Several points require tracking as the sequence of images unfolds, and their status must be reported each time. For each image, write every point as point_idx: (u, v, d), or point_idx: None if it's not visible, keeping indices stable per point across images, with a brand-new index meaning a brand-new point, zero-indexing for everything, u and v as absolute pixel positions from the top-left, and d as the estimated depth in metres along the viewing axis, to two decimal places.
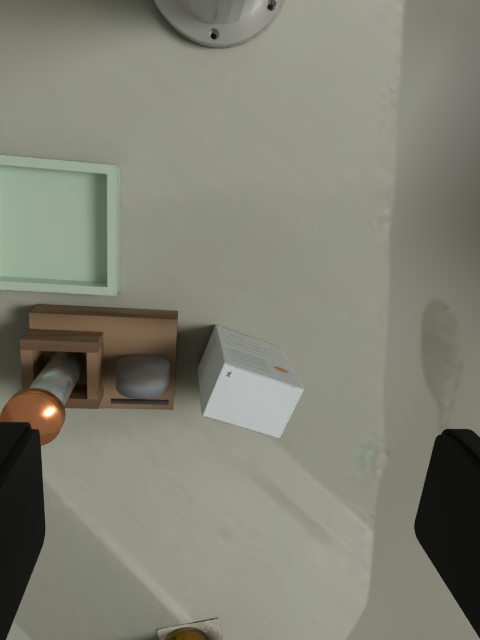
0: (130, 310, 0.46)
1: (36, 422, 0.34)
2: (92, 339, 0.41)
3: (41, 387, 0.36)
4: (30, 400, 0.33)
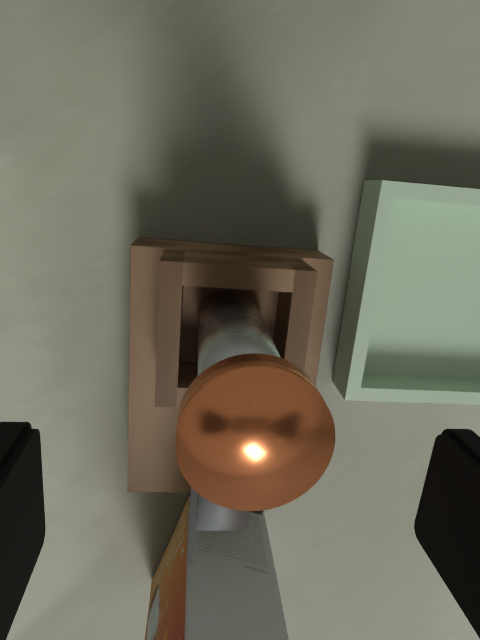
0: None
1: (252, 456, 0.12)
2: None
3: None
4: (319, 447, 0.12)
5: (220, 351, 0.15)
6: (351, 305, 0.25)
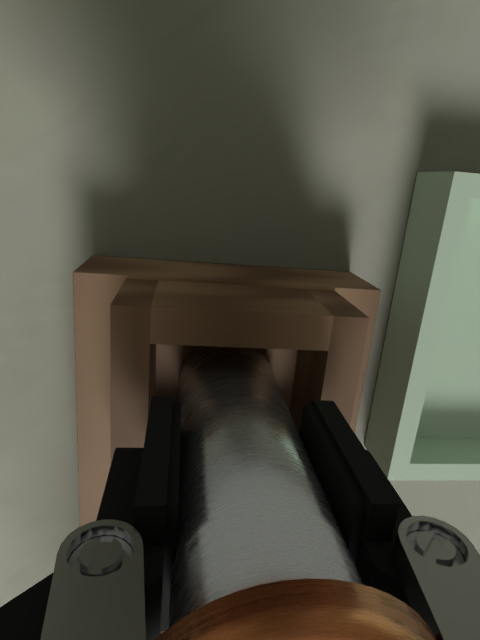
0: None
1: None
2: None
3: None
4: None
5: (214, 504, 0.08)
6: (396, 348, 0.18)
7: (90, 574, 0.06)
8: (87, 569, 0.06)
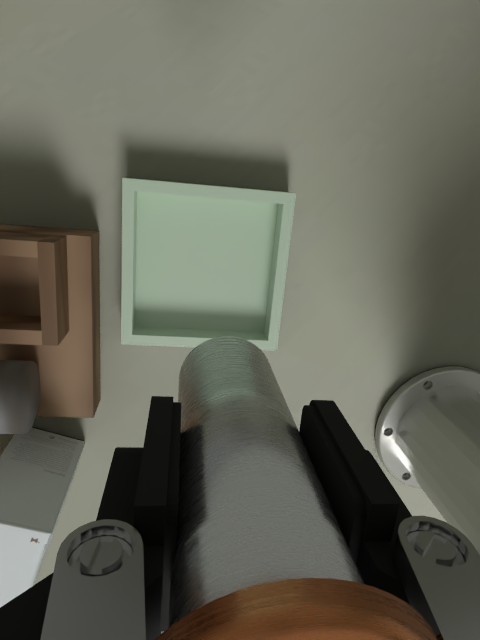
0: (98, 350, 0.35)
1: None
2: (60, 333, 0.30)
3: None
4: None
5: (214, 504, 0.08)
6: None
7: (90, 574, 0.06)
8: (87, 569, 0.06)
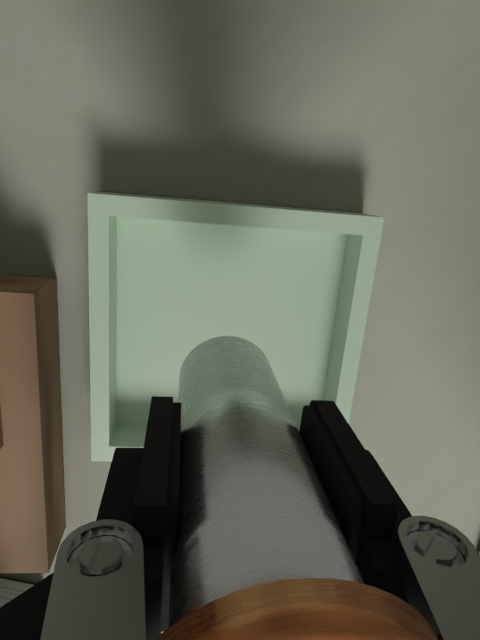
0: (58, 461, 0.22)
1: None
2: None
3: None
4: None
5: (214, 504, 0.08)
6: None
7: (90, 574, 0.06)
8: (87, 569, 0.06)
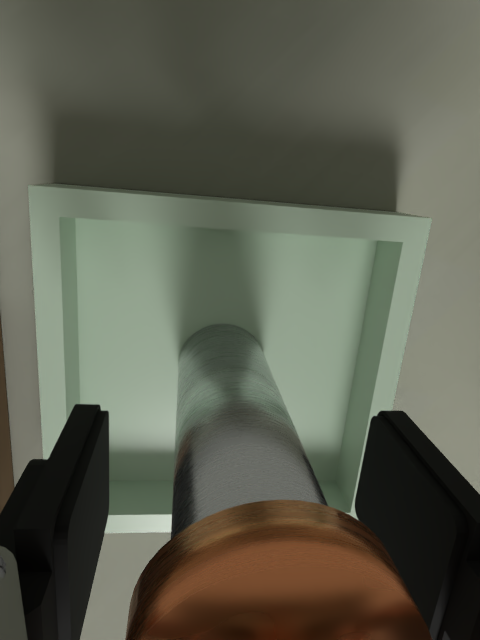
0: None
1: None
2: None
3: None
4: None
5: (209, 457, 0.09)
6: None
7: None
8: None
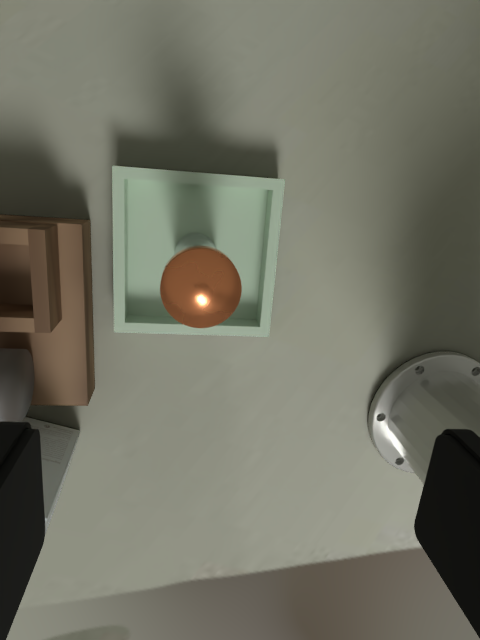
0: (91, 338, 0.36)
1: (199, 296, 0.24)
2: (53, 321, 0.30)
3: None
4: (233, 292, 0.24)
5: None
6: None
7: None
8: None
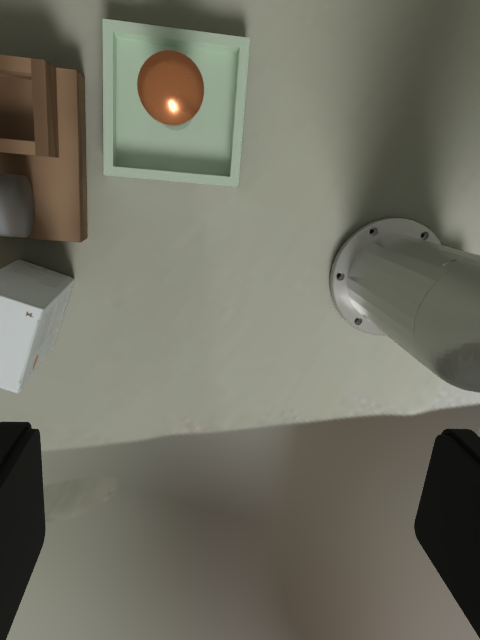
0: (84, 187, 0.41)
1: (169, 94, 0.30)
2: (51, 149, 0.36)
3: None
4: (197, 91, 0.30)
5: None
6: None
7: None
8: None
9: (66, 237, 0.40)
